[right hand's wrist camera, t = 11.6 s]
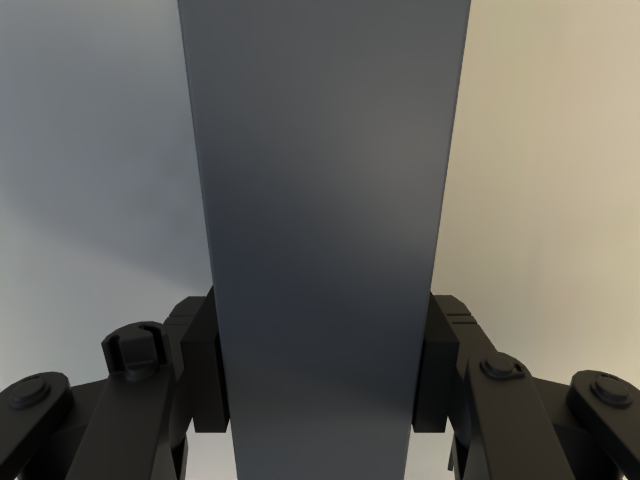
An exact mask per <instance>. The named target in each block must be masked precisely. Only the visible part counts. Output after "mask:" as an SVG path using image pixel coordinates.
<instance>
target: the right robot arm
mask: <svg viewBox="0 0 640 480" xmlns="http://www.w3.org/2000/svg"><path fill="white" fill-rule="evenodd" d="M101 344H102V348H103V352H104V356H105V359H106V363H107V367H108V371H109V376H108V378H107V379H104V380H100V381H96V382H92V383H87V384H82V385H78V386H73V387H71V386H70V383H69V380H68V378H67V377H66V376H65V375H64V374H63V373H58V372H45V373H39V374H35V375H32V376H29V377H26V378H23V379H22V380H20V381H18V382H16V383H14V384H12V385H10V386H9V387H7V388H6V389H5V390H3V391H2V392H1V393H0V480H14V479H15V478H16V477H17V478H18V480H185V474H186V464H187V455H188V442H187V436H186V432H187V429H188V427H189V424H190V422H191V419H192V417H193V422H194V428H195V433H226V430H227V426H228V423H229V419H230V414H229V406H228V398H227V391H226V383H225V375H224V367H223V359H222V351H221V343H220V335H219V327H218V319H217V311H216V303H215V295H214V287H213V286H212V287H211V289H210V291H209V293H208V294H207V296H189V297H187V298H186V299H184V300H183V301H181V302H180V303H178V304H177V305H176V306H175V307H174V309H173V310H172V312H171V313H170V315H169V317H167V319H166V320H165V322H164V323H163V324H161V323H157V322H153V321H146V322H137V323H133V324H129V325H126V326H124V327H121V328H119V329H117V330H115V331H114V332H112V333H111V334H109V335H108V336H107V337H106V338H105V339H104V340H103V342H102V343H101ZM447 416H448V417H449V420H450V422H451V425H452V427H453V430H454V436H453V442H452V447H451V452H450V458H449V464H448V470H450V471H453V466H454V473H455V480H623V479H622V478H623V476H624V475H625V477H626V478H627V479H628V480H640V390H638V389H637V388H636V387H634V386H633V385H631V384H630V383H628V382H626V381H624V380H622V379H620V378H618V377H616V376H614V375H611V374H608V373H604V372H600V371H592V370H585V371H579V372H577V373H576V374H575V375H574V376H573V377H572V380H571V383H570V386H569V385H565V384H560V383H556V382H551V381H546V380H542V379H538V378H535V377H532V376H531V373H530V372H529V371H528V369H527V368H526V366H525V365H523V364H522V363H521V362H520V361H518V360H517V359H516V358H513V357H511V356H509V355H507V354H505V353H501V352H498V351H497V350H496V349H495V347H494V346H493V344H492V343H491V341H490V340H489V339H488V337H487V336H486V334H485V333H484V331H483V330H482V329H481V327H480V326H479V324H477V322H476V320H475V319H474V317H473V316H471V313H470V312H469V310H468V309H467V307H466V306H465V304H464V303H462V302H461V301H459V300H458V299H456V298H455V297H453V296H452V295H433V294H432V293H431V291H430V296H429V303H428V310H427V317H426V324H425V331H424V338H423V345H422V352H421V360H420V367H419V374H418V381H417V388H416V395H415V402H414V409H413V416H412V426H413V430H414V433H445V428H446V422H447Z"/></svg>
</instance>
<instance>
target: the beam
mask: <svg viewBox="0 0 640 480" xmlns="http://www.w3.org/2000/svg"><path fill="white" fill-rule="evenodd" d="M470 4H471V0H178V8H179V16H180V24H181V32H182V40H183V48H184V56H185V64H186V72H187V80H188V88H189V95H190V103H191V111H192V119H193V127H194V135H195V143H196V151H197V159H198V167H199V175H200V183H201V191H202V199H203V207H204V215H205V223H206V231H207V239H208V247H209V255H210V263H211V271H212V279H213V287H214V295H215V303H216V311H217V319H218V327H219V335H220V343H221V351H222V359H223V367H224V375H225V383H226V391H227V398H228V406H229V414H230V422H231V430H232V438H233V446H234V454H235V462H236V470H237V478H238V480H404V473H405V466H406V459H407V452H408V445H409V438H410V431H411V423H412V416H413V409H414V402H415V395H416V388H417V381H418V374H419V367H420V360H421V352H422V345H423V338H424V331H425V324H426V317H427V310H428V303H429V296H430V289H431V281H432V274H433V267H434V260H435V253H436V246H437V239H438V232H439V225H440V218H441V210H442V203H443V196H444V189H445V182H446V175H447V168H448V161H449V154H450V147H451V139H452V132H453V125H454V118H455V111H456V104H457V97H458V90H459V83H460V75H461V68H462V61H463V54H464V47H465V40H466V33H467V26H468V19H469V12H470Z"/></svg>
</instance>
